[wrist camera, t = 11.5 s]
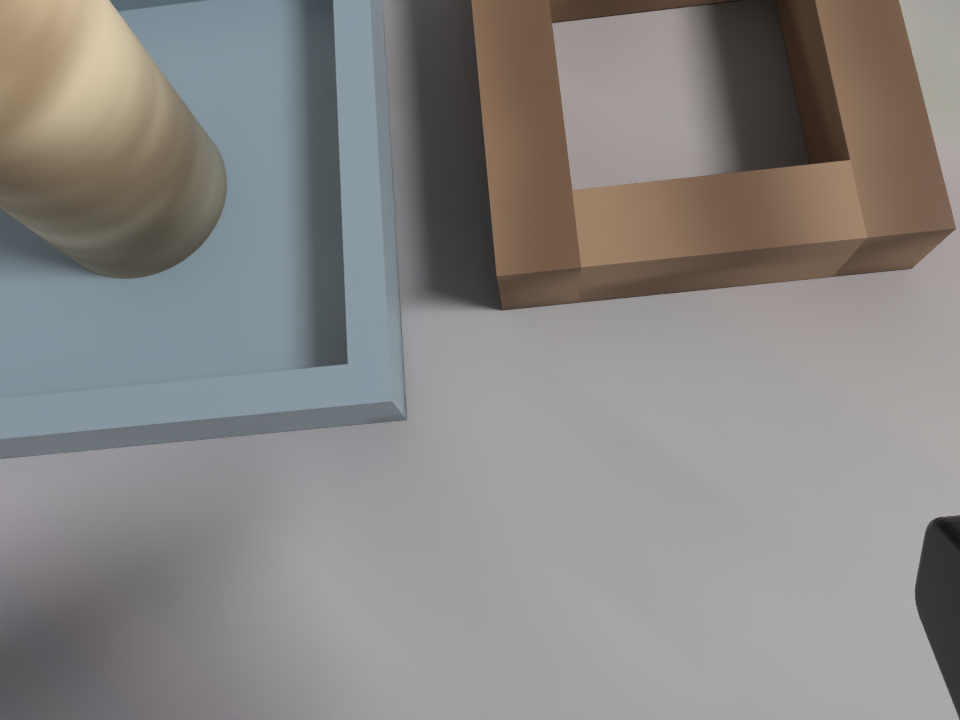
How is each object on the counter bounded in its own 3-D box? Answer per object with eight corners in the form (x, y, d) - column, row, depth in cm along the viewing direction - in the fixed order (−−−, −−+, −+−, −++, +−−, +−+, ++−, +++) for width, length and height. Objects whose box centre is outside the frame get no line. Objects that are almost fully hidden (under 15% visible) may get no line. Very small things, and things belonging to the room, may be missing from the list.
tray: (-115, 469, 23) (-182, 456, 21) (-67, 20, 27) (-119, -30, 25) (406, 419, 22) (391, 401, 20) (380, -35, 26) (365, -92, 24)
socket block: (502, 310, 23) (496, 276, 20) (470, -27, 26) (462, -91, 23) (911, 268, 22) (956, 228, 20) (833, -71, 25) (863, -142, 23)
